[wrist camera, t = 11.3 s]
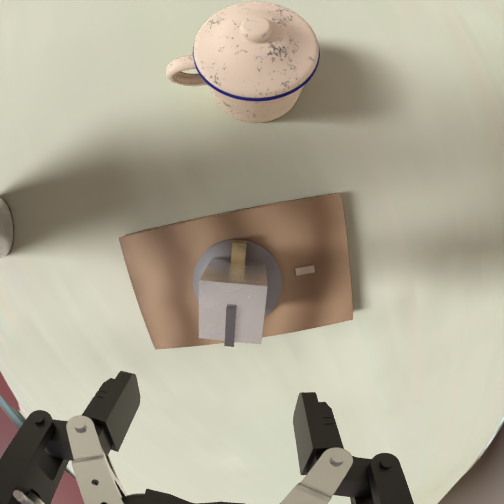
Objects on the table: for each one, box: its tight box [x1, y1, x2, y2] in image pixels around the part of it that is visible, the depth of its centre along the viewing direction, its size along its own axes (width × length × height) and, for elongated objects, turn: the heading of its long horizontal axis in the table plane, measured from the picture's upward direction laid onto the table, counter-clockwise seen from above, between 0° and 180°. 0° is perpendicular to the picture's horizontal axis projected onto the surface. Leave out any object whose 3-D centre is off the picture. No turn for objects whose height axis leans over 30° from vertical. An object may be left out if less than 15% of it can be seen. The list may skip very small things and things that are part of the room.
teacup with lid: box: [166, 2, 320, 123], centre depth 18 cm, size 12×9×12 cm
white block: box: [199, 240, 268, 347], centre depth 22 cm, size 8×5×6 cm, turn 175°
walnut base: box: [119, 193, 353, 349], centre depth 27 cm, size 22×13×3 cm, turn 101°
